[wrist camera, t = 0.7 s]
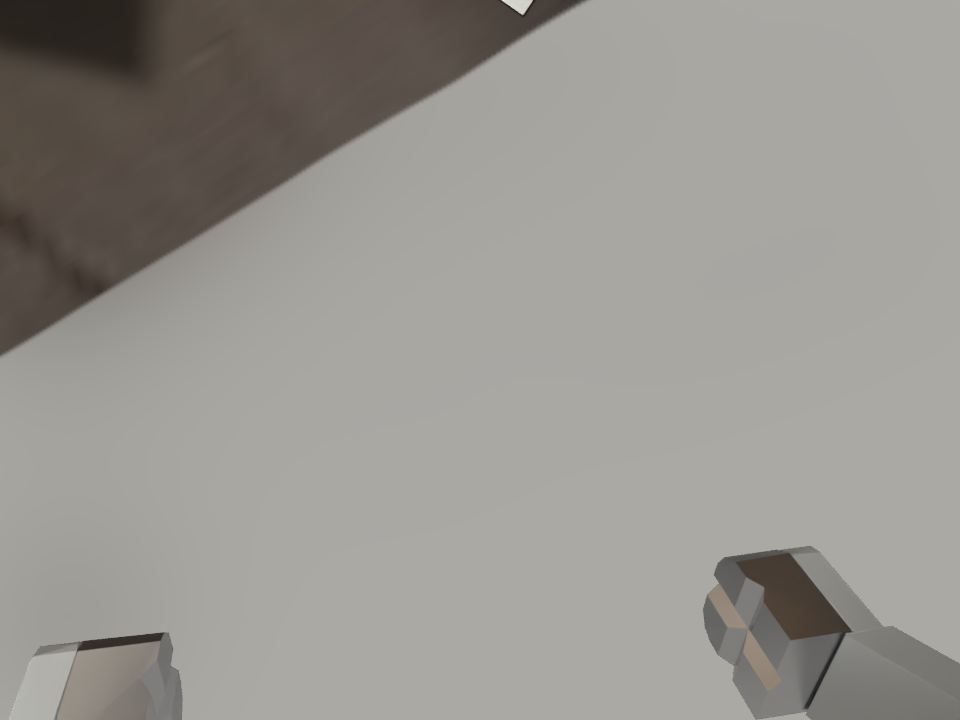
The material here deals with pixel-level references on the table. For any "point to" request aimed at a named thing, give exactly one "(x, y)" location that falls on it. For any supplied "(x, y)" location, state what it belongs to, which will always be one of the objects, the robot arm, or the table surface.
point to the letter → (519, 5)
